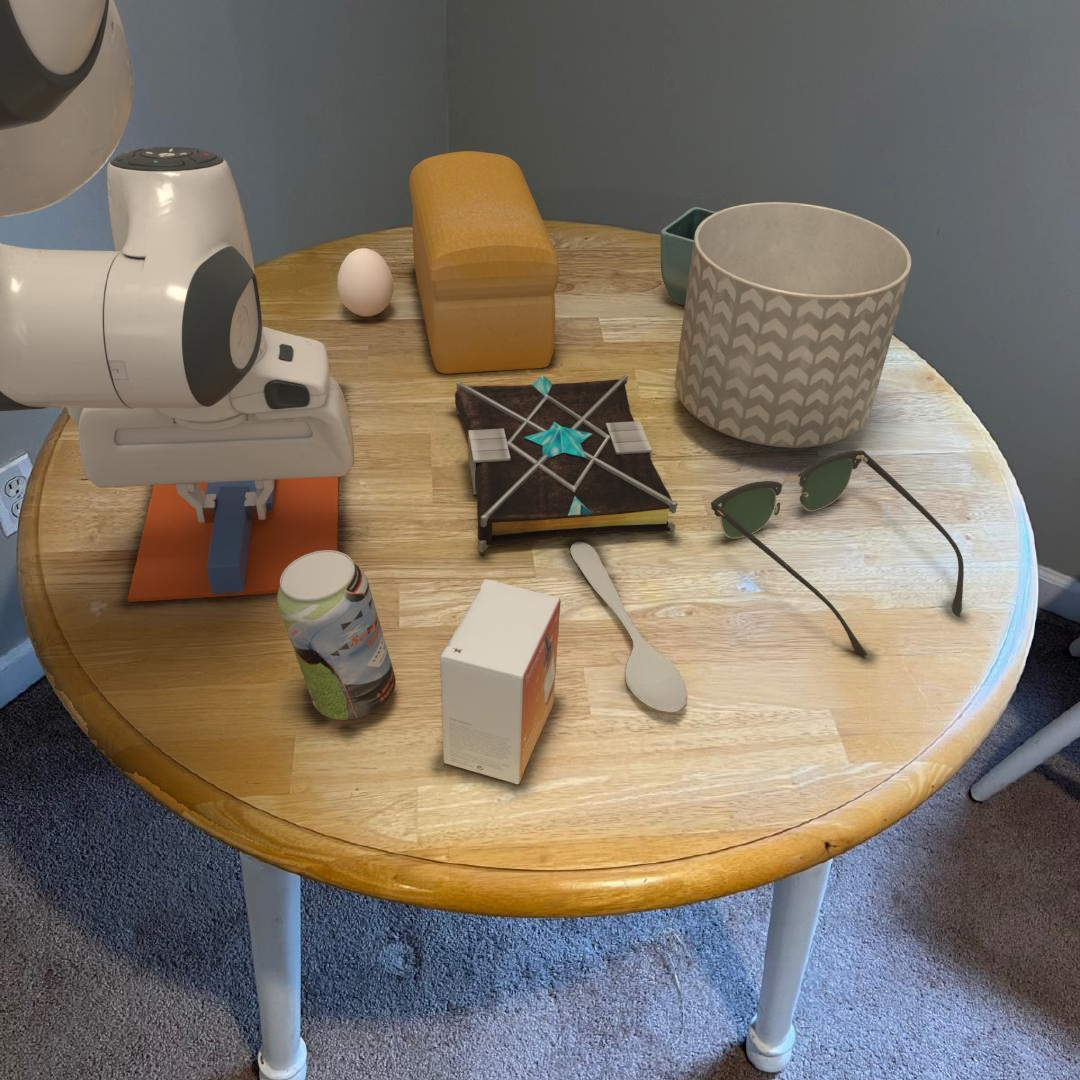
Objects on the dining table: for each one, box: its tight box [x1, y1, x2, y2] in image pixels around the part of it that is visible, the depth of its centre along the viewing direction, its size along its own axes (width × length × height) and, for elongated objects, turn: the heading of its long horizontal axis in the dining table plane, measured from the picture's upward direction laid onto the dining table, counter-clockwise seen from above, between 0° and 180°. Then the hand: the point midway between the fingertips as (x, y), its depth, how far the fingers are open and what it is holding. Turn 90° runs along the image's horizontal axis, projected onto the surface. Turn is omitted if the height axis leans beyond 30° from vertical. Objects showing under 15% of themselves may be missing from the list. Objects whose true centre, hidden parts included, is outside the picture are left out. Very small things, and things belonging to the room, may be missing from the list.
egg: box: [336, 247, 395, 317], centre depth 119 cm, size 6×6×8 cm
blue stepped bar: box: [206, 480, 276, 594], centre depth 90 cm, size 17×6×3 cm, turn 7°
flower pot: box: [660, 206, 717, 307], centre depth 124 cm, size 9×9×9 cm
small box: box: [439, 578, 562, 785], centre depth 73 cm, size 8×6×10 cm
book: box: [454, 374, 678, 553], centre depth 98 cm, size 22×17×5 cm
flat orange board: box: [127, 383, 341, 603], centre depth 97 cm, size 30×16×1 cm, turn 7°
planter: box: [674, 201, 912, 448], centre depth 102 cm, size 19×19×18 cm
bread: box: [408, 150, 560, 375], centre depth 117 cm, size 24×13×15 cm, turn 10°
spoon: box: [570, 541, 688, 713], centre depth 84 cm, size 4×21×2 cm, turn 18°
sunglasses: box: [710, 449, 965, 657], centre depth 89 cm, size 16×17×5 cm
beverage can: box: [276, 550, 396, 721], centre depth 75 cm, size 6×7×12 cm
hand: (233, 516), depth 89 cm, fingers closed on blue stepped bar, 2 cm apart
